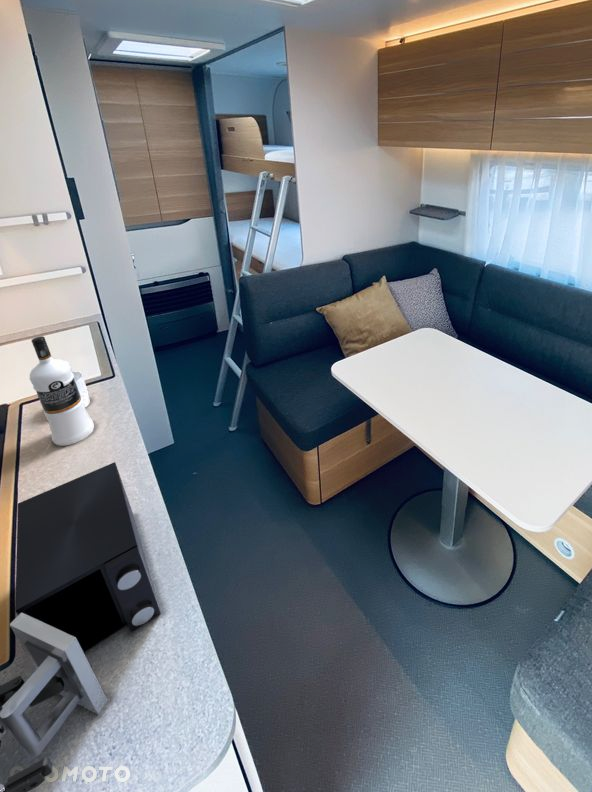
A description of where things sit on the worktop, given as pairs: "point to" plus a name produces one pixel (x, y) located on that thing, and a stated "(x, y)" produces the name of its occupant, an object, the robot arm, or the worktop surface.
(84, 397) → the white cup
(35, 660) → the microwave door
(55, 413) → the vodka
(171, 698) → the worktop surface
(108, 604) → the microwave
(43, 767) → the robot arm
